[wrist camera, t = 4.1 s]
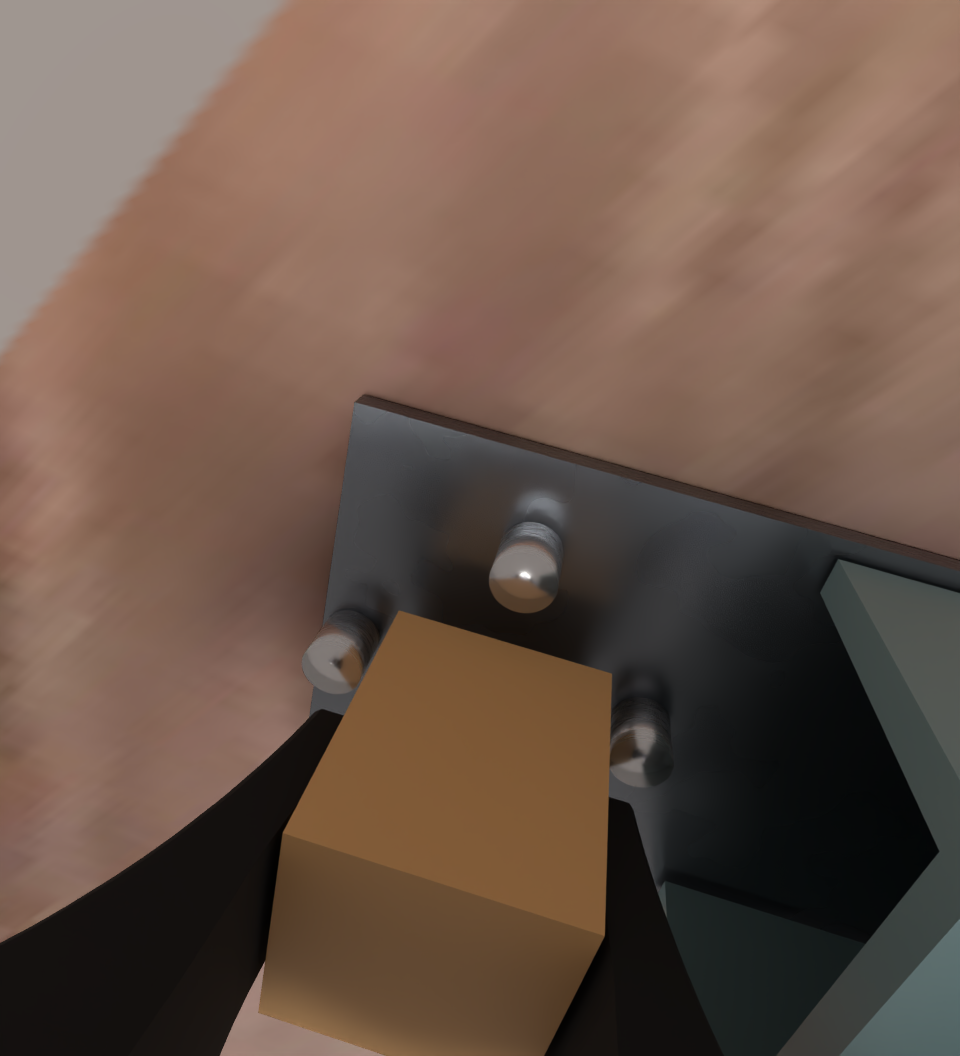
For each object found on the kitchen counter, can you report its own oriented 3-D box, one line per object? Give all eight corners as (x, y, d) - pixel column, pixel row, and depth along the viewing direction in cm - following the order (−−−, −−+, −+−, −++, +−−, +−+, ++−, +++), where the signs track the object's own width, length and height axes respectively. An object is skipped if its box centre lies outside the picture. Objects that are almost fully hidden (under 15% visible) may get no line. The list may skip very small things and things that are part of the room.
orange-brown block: (612, 673, 13) (604, 936, 8) (552, 822, 15) (521, 1101, 10) (398, 610, 13) (282, 832, 9) (367, 764, 15) (258, 1012, 10)
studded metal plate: (1410, 686, 12) (1522, 759, 11) (1057, 1009, 17) (1099, 1092, 15) (363, 394, 13) (329, 422, 12) (307, 773, 18) (277, 829, 16)
